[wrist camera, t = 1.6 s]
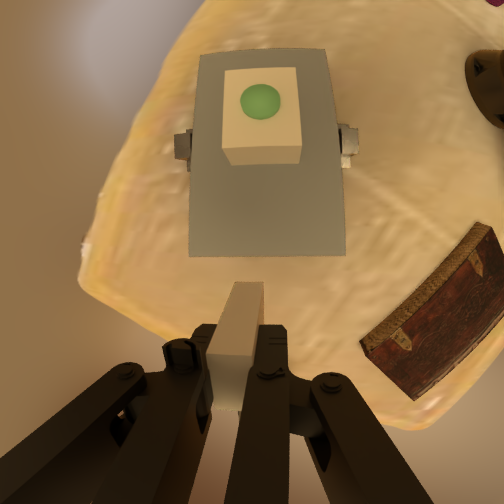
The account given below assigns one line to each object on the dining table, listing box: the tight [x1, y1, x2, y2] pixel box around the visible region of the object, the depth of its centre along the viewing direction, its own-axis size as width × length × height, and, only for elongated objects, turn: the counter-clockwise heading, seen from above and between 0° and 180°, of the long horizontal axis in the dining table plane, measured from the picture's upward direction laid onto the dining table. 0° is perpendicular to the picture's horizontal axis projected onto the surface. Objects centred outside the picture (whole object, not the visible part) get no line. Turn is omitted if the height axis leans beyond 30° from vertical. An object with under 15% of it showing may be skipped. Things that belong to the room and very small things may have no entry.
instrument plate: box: [189, 48, 346, 257], centre depth 26 cm, size 26×16×8 cm, turn 2°
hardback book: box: [360, 222, 504, 401], centre depth 38 cm, size 29×19×5 cm, turn 137°
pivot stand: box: [174, 124, 359, 172], centre depth 34 cm, size 16×22×7 cm
